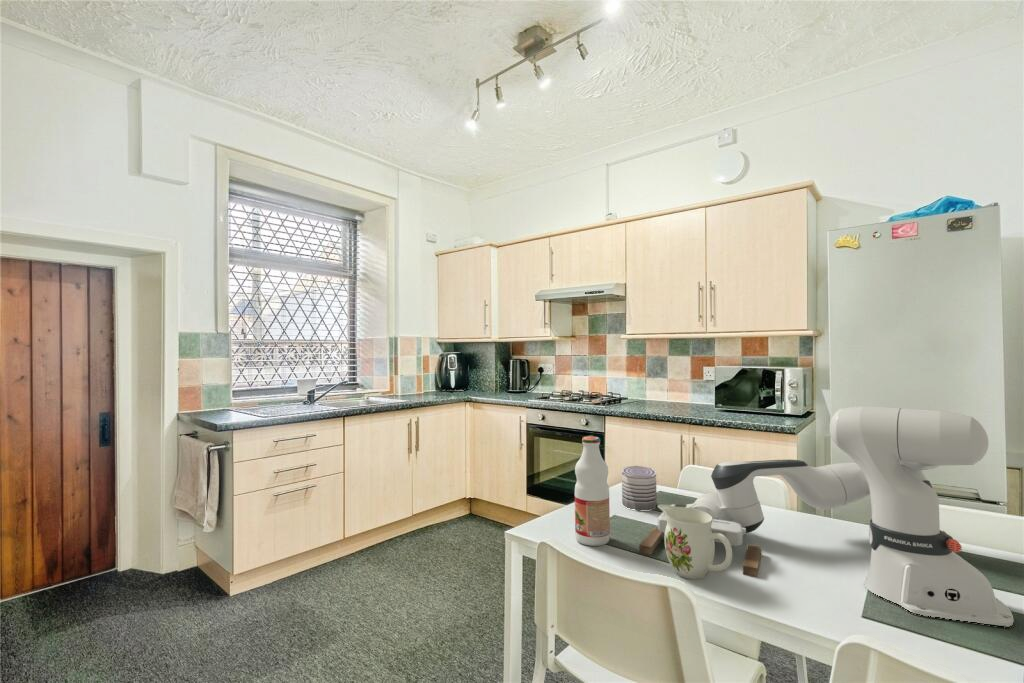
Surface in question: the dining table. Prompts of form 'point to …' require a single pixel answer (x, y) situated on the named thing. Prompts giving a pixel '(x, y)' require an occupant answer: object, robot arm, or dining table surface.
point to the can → (639, 488)
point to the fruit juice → (592, 496)
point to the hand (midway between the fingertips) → (694, 538)
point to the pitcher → (692, 542)
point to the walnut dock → (749, 564)
